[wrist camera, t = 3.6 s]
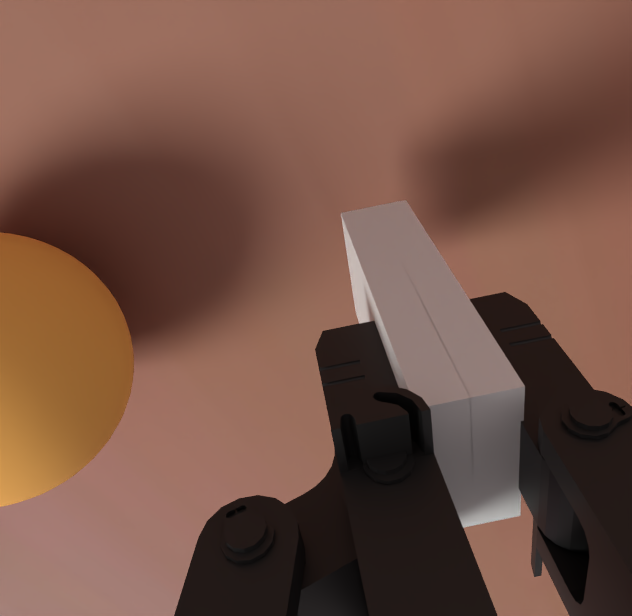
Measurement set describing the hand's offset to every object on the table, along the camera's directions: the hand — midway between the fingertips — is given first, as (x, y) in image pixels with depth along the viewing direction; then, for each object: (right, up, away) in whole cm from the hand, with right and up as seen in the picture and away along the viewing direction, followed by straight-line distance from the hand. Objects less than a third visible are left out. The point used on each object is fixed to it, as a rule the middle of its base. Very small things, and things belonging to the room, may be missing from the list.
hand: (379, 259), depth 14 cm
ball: (-9, -2, -1) cm, 9 cm away
